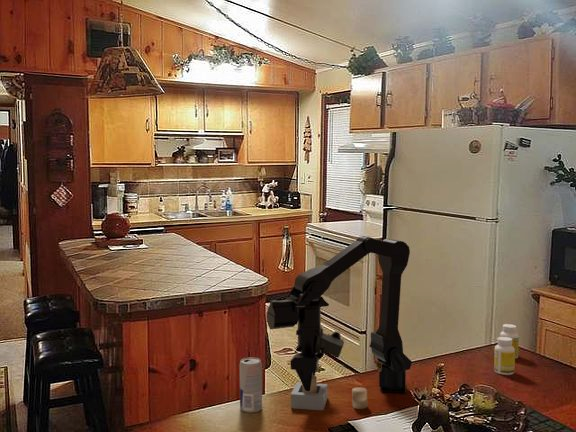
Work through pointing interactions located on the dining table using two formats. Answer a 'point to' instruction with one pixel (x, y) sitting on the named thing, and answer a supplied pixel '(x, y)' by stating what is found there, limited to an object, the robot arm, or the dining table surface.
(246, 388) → the energy drink
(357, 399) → the short pin
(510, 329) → the supplement bottle
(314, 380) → the beige peg
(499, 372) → the supplement bottle
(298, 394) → the hole block
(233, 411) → the dining table surface
